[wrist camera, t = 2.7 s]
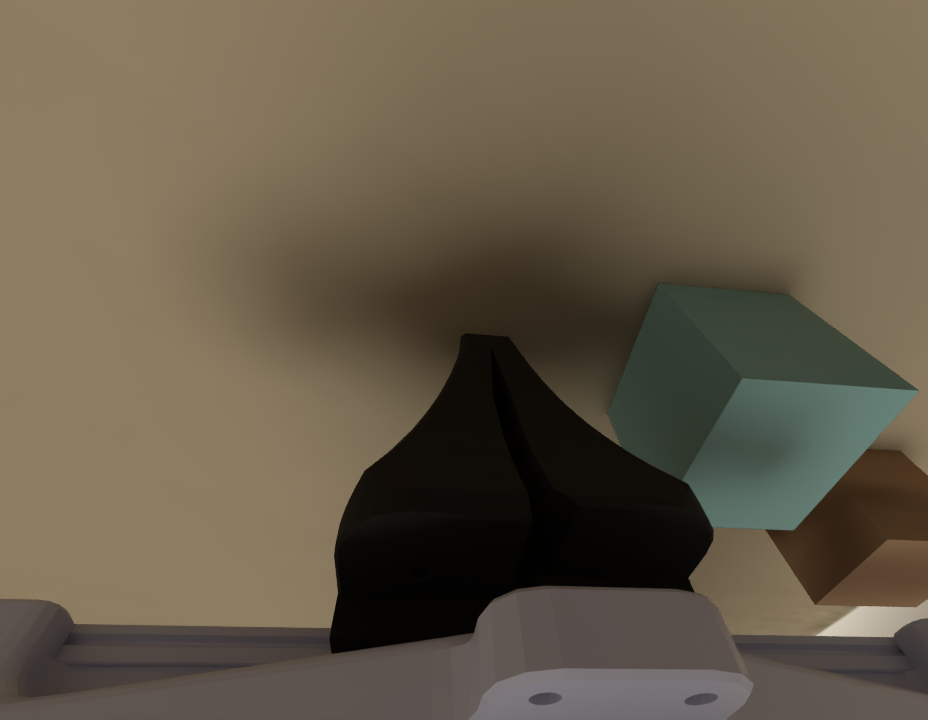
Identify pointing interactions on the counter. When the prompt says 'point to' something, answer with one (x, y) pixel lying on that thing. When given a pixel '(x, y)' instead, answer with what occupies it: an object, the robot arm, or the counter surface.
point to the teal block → (750, 402)
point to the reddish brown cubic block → (865, 536)
